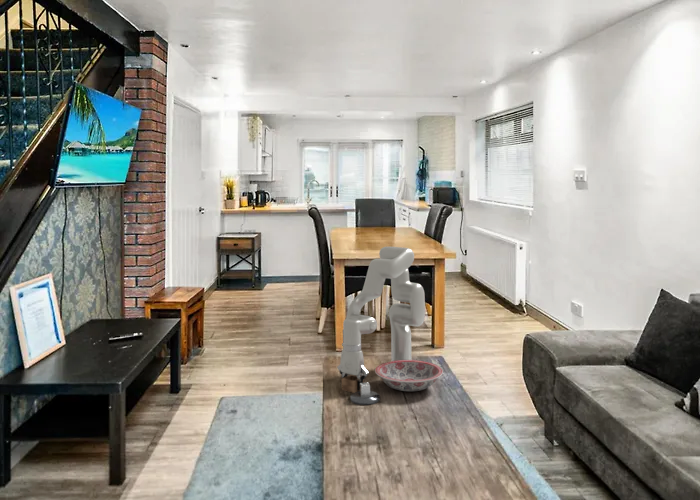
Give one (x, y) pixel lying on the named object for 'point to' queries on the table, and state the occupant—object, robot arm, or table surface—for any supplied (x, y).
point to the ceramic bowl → (408, 374)
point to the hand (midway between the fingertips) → (352, 387)
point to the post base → (365, 400)
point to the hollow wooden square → (350, 383)
